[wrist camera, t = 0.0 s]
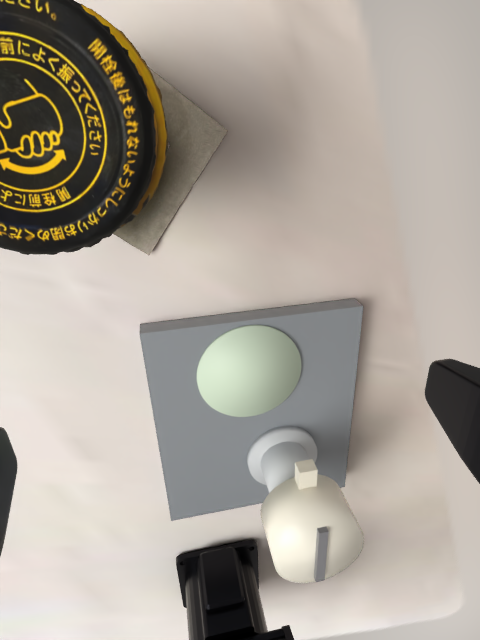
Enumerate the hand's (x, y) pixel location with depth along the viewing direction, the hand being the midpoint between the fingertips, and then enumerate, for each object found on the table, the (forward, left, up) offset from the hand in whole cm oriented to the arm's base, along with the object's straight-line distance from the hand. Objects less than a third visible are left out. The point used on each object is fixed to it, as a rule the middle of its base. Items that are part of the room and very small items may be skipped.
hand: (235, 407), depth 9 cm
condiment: (+5, +3, -15) cm, 16 cm away
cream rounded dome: (-15, -5, -9) cm, 19 cm away
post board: (-12, -4, -15) cm, 19 cm away
